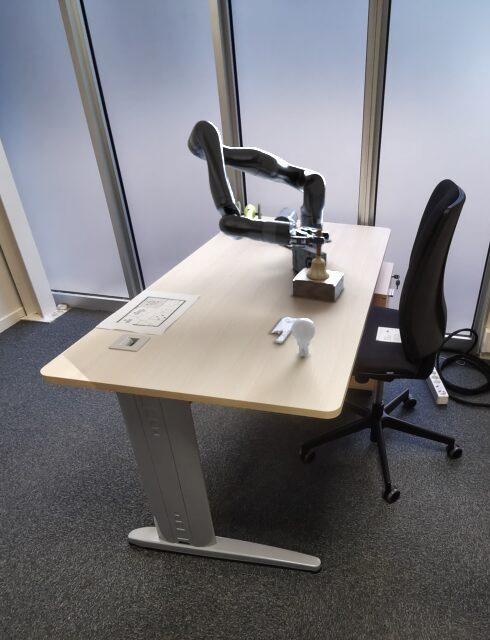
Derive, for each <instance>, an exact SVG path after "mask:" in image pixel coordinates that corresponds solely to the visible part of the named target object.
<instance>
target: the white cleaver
mask: <svg viewBox="0 0 490 640" xmlns="http://www.w3.org/2000/svg"><path fill="white" fill-rule="evenodd" d="M297 319H298V318H295V317H289V316H286V317H283V318H281V320H280V321H279V322H278V323H277V325H276V326H275V327H274V329H273V330H272V331H271V332H270V333H271V334H278V335H280V336H278V338H277V339H276V340H275V343H277V344H283V342H284V341H285V340H286V338H287V337H288V336H289V334H290V333H291V328H292V325H293V323H294V322H295V321H296V320H297Z"/></svg>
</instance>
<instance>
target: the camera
mask: <svg viewBox="0 0 490 640" xmlns="http://www.w3.org/2000/svg"><path fill="white" fill-rule="evenodd" d="M291 247H292V248H291V256H292V257H291V258H292V270H294V271H296V272H298V273H300V272H301V271H302V270H303V268H311V265H312V260H313V259H315V258H316V249H314V248H311V247H308V246H305V245H291ZM327 255H328V254H327V252H324V251H323V250H322V251H321V258H322V259H323V260H324V261H325V267H326V268H327V257H328V256H327Z"/></svg>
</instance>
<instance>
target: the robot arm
mask: <svg viewBox="0 0 490 640" xmlns="http://www.w3.org/2000/svg"><path fill="white" fill-rule="evenodd" d="M187 148H188V150H189V152H190V153H191V154H192V155H193V156H195V157H196V158H198V159H199V160H202V161H206V164H207V165H206V166H207V174H208V185H209V191H210V195H211V198H212V201H213V204H214V207H215V210H216V211H217V213H218V214H219V215H220V216H221V217H220V218H219V221H218V229H219V231H220V233H222V234H223V235H224V236H226V237H228V238H230V239H231V240H233V241H240V240H243V239H244V238H246V239H249V240H250V241H254V242H260V243H267V244H271V245H280V246H284V247H285V248H287V249H292V245H305V246H308V247H311V248H314V249H316V250H317V248H316V244H322V246H321V251H322V252H323V245H325V240H327V239H329V238H330V232H329V231H328V232H326V231H324V230H323V228H324V227H323V225H324V224H323V223H324V222H323V221H324V210H325V205H326V180H325V177H324V176H323V175H322V174H320V173H319V172H316V171H314V170H311V169H308V168H303V167H299V166H295V165H292V164H290V163H288V162H286V161H285V160H283V159H282V158H280V157H278V156H276V155H274V154H272V153H270V152H267V151H265V150H262V149H260V148H257V147H249V146H248V147H230V146H226V145H224V144H222V139H221V135H220V132H219V130H218V128H217V127H216V126H215V125H214V124H213V123H212V122H210V121H208V120H204V119H203V120H202V119H201V120H199V121H197V122H196V123H195V124H194V126H193V127H192V129H191V132H190V134H189V137H188V140H187ZM226 167H229V168H231V169H233V170H237V171H240V172H243V173H246V174H249V175H251V176H253V177H255V178H259V179H262V180H265V181H268V182H272V183H273V182H274V183H280V184H284V185H286V186H289V187H292V188H293V189H295V190H297V191H299V192H300V193H302V195H303V197H302V198H303V199H302V205H300V207H299V215H300V218H299V219H300V221H299V222H300V227H297V229H295V228H294V225H293V223H291V222H282V221H274V219H272V220H265V219H261V220H258V218H257V219H256V218H255V219H249V218H246V217H244V216H243V215H242V216H241V214H240V212H239V210H238V208H237V202H236V200H235V199H236V198H235V196H234V193H233V190H232V188H231V184H230V181H229V176H228V173H227V168H226ZM317 229H321V231H322V235H323V237H317V236H316V232H317Z"/></svg>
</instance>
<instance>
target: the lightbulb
mask: <svg viewBox="0 0 490 640" xmlns="http://www.w3.org/2000/svg"><path fill="white" fill-rule="evenodd" d="M296 319H297V320H296V321H295V322H294V323H293V325H292V328H291V331H290V333H291V336H292V337H293V339H294V340H295V341H296V343H297V347H298V355H299V356H301V357H306V356H308V355H309V351H310V350H309V349H310V348H309V346H310V345H311V341H312V340H313V338H314V337H315V335H316V326H315V324H314V322H313V321H312V320H311V319H309V318H307V317H299V318H296Z"/></svg>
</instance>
